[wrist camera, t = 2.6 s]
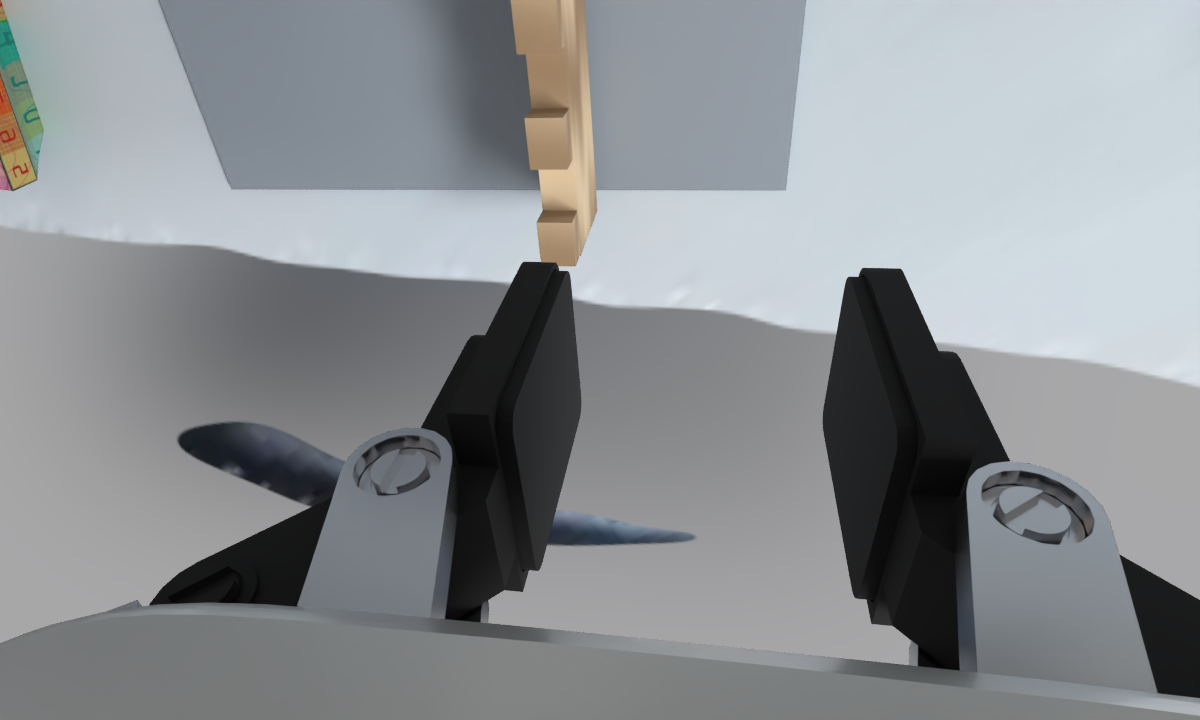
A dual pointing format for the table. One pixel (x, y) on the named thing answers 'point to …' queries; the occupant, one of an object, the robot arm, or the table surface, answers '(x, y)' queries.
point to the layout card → (488, 92)
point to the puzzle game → (16, 117)
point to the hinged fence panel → (559, 122)
